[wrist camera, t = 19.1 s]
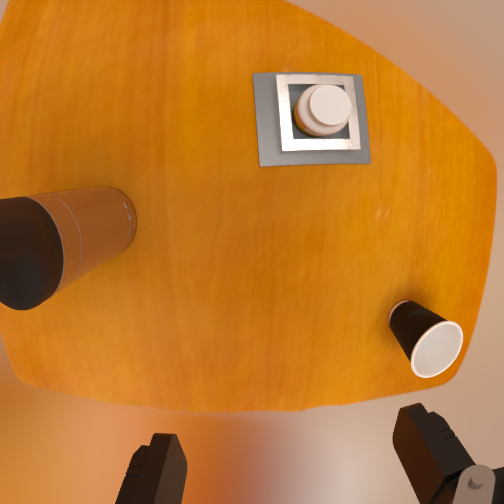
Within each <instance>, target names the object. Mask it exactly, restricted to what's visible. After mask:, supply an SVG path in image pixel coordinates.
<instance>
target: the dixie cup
mask: <svg viewBox="0 0 504 504" xmlns="http://www.w3.org/2000/svg"><path fill="white" fill-rule="evenodd" d="M389 324H390V328H391V330H392V332H393V333H394V335H395V337H396V338H397V340H398V342H399V343H400V345H401V347H402V349H403V350H404V352H405V354H406V356H407V357H408V359H409V361H410V363H411V368H412V370H413V372H414V373H415V374H416V375H417V376H419V377H423V378H428V377H433V376H436V375H438V374H440V373H441V372H443V371H444V370H446V369H447V368H448V367H449V366H450V365H451V364H452V363H453V361H454V360H455V359H456V357H457V356H458V354H459V352H460V349H461V346H462V342H463V333H462V330H461V328H460V326H459V325H458V324H457V323H455V322H453V321H448V320H446V319H444V318H442V317H441V316H439V315H437V314H435V313H433V312H432V311H430V310H428V309H426V308H424V307H423V306H421V305H419V304H417V303H415V302H413V301H407V300H405V301H401V302H399V303H397V304H396V305H395V306H394V307H393V308H392V310H391V311H390V314H389Z"/></svg>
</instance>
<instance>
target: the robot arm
mask: <svg viewBox="0 0 504 504" xmlns="http://www.w3.org/2000/svg"><path fill="white" fill-rule="evenodd" d="M135 231H136V215H135V211H134V208H133V206H132V203H131V202H130V200H129V199H128V198H127V197H126V196H125V195H124V194H123V193H122V192H120V191H119V190H117V189H114V188H111V187H99V188H87V189H77V190H68V191H60V192H52V193H44V194H36V195H30V196H23V197H15V198H8V199H0V302H2V303H3V304H4V305H6V306H8V307H10V308H12V309H15V310H29V309H32V308H34V307H36V306H38V305H40V304H41V303H43V302H44V301H45V300H47V299H48V298H50V297H51V296H53V295H54V294H56V293H57V292H59V291H60V290H62V289H63V288H65V287H66V286H68V285H69V284H71V283H72V282H74V281H75V280H77V279H78V278H80V277H82V276H83V275H85V274H86V273H88V272H89V271H91V270H93V269H94V268H96V267H97V266H99V265H101V264H102V263H104V262H105V261H107V260H109V259H111V258H112V257H114V256H115V255H117V254H119V253H120V252H122V251H123V250H125V249H126V248H127V247H128V246H129V245H130V243H131V241H132V240H133V237H134V234H135ZM393 446H394V449H395V451H396V453H397V455H398V457H399V459H400V461H401V463H402V466H403V468H404V470H405V472H406V474H407V476H408V478H409V481H410V483H411V485H412V487H413V489H414V492H415V494H416V496H417V498H418V500H419V503H420V504H504V467H502V468H498V469H493V470H491V469H490V468H489V467H487V466H484V465H476V464H475V463H474V461H473V460H472V458H471V457H470V456H469V454H468V453H467V451H466V450H465V448H464V447H463V445H462V444H461V442H460V441H459V439H458V438H457V437H456V436H455V433H454V432H453V431H452V429H450V427H449V425H448V423H447V422H446V421H445V419H444V418H443V417H441V416H440V415H438V414H437V413H435V412H430V413H428V412H427V411H426V409H425V408H424V406H423V405H422V404H421V403H416V404H413V405H409V406H406V407H402V408H400V410H399V413H398V417H397V421H396V424H395V428H394V432H393ZM186 475H187V461H186V457H185V455H184V452H183V450H182V447H181V445H180V443H179V440H178V438H177V435H175V434H166V433H154V435H153V437H152V440H151V443H150V445H149V446H145V445H142V446H141V447H140V448H139V449H138V450H137V451H136V452H135V453H134V454H133V456H132V458H131V461H130V464H129V467H128V469H127V472H126V476H125V477H124V480H123V483H122V486H121V488H120V491H119V494H118V497H117V500H116V502H115V504H181V502H182V496H183V491H184V486H185V480H186Z"/></svg>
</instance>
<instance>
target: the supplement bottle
mask: <svg viewBox="0 0 504 504" xmlns="http://www.w3.org/2000/svg"><path fill="white" fill-rule="evenodd" d="M351 108H352V105H351V101H350V98H349V96H348V95H347V93H346V92H345V91H344V90H343V89H341V88H339V87H337V86H335V85H327V84H317V85H314V86H311V87H309V88H308V89H306V90H305V91H304V92H303V93H302V95H301V96H300V98H299V99H298V100H297V102H296V103H295V105H294V107H293V110H292V120H293V123H294V125H295V127H296V128H297V129H298V130H299V131H300V132H301V133H303V134H304V135H307V136H310V137H321V136H326V135H330V134H334V133H336V132H338V131H340V130H341V129H342V128H344V126H345V125H346V124H347V122H348V120H349V117H350V113H351Z"/></svg>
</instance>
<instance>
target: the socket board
mask: <svg viewBox="0 0 504 504" xmlns="http://www.w3.org/2000/svg"><path fill="white" fill-rule="evenodd" d="M317 84H327V85H335V86H337V87H339V88H341V89H343V90H344V91H345V92H346V93H347V95H348V96H349V98H350V101H351V105H352V108H351V113H350V117H349V120H348V122H347V124H346V125H345V126H344V128H342V129H341V130H340V131H338V132H336V133H334V134H330V135H326V136H321V137H310V136H307V135H304V134H303V133H301V132H300V131H299V130H298V129H297V128H296V127H295V125H294V123H293V120H292V110H293V107H294V105H295V103H296V102H297V100H298V99H299V98H300V96H301V95H302V93H303V92H304V91H305V90H306V89H308V88H309V87H311V86H314V85H317ZM253 85H254V97H255V110H256V123H257V136H258V149H259V163H260V167H265V166H283V165H308V164H371V161H370V147H369V135H368V124H367V114H366V106H365V98H364V90H363V83H362V76H361V75H355V74H341V73H317V72H278V73H254V74H253Z"/></svg>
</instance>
